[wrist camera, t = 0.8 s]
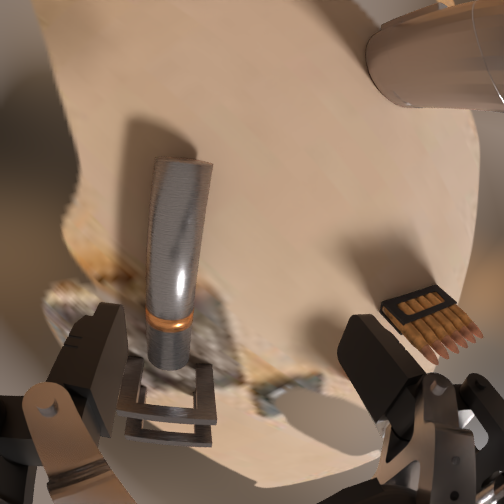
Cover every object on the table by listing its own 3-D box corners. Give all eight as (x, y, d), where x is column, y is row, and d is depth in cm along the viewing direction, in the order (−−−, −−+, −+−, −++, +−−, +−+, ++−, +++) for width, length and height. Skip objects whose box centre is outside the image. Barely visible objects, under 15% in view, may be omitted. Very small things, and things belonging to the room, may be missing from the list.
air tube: (159, 155, 22) (149, 159, 17) (212, 161, 23) (214, 167, 19) (150, 339, 29) (144, 367, 25) (189, 343, 30) (189, 372, 26)
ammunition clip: (436, 284, 34) (489, 329, 23) (434, 294, 34) (484, 340, 24) (381, 301, 33) (434, 362, 22) (379, 313, 33) (429, 373, 23)
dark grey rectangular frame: (132, 385, 32) (124, 435, 24) (207, 392, 34) (212, 443, 27) (133, 390, 32) (125, 439, 25) (207, 397, 35) (211, 447, 27)
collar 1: (128, 355, 30) (116, 409, 22) (212, 364, 32) (217, 419, 24) (128, 362, 30) (117, 415, 22) (211, 370, 32) (216, 425, 25)
